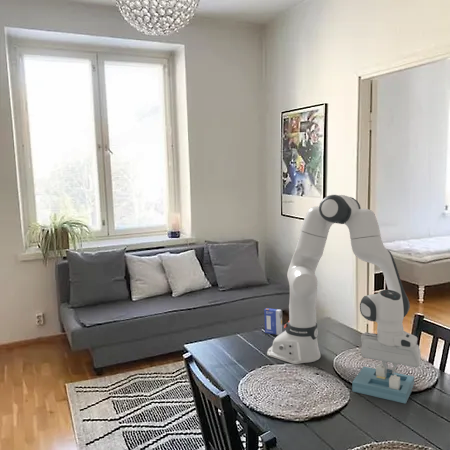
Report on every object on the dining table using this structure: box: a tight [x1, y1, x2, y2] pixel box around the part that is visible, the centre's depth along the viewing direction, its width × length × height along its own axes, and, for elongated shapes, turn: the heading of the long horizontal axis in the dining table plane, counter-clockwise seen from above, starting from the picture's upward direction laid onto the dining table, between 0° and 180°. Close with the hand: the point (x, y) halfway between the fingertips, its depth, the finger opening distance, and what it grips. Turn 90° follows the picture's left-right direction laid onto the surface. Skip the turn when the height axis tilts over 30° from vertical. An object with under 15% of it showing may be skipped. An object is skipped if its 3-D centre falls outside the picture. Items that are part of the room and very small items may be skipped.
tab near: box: [389, 374, 400, 390], centre depth 158 cm, size 3×3×5 cm
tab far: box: [375, 362, 386, 377], centre depth 167 cm, size 3×3×5 cm
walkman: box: [263, 307, 283, 336], centre depth 220 cm, size 8×3×12 cm, turn 64°
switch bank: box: [351, 366, 415, 404], centre depth 164 cm, size 18×14×4 cm
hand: (390, 373), depth 166 cm, fingers closed
